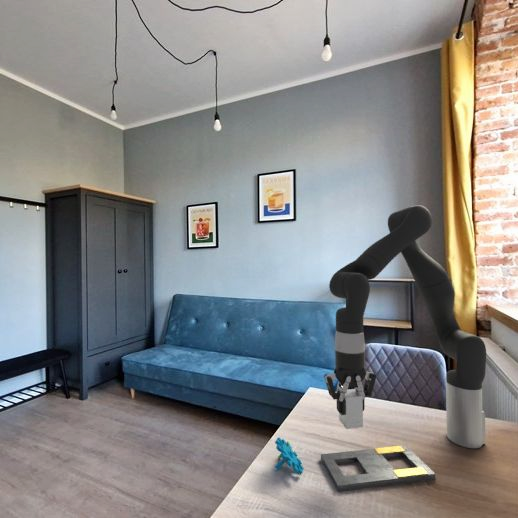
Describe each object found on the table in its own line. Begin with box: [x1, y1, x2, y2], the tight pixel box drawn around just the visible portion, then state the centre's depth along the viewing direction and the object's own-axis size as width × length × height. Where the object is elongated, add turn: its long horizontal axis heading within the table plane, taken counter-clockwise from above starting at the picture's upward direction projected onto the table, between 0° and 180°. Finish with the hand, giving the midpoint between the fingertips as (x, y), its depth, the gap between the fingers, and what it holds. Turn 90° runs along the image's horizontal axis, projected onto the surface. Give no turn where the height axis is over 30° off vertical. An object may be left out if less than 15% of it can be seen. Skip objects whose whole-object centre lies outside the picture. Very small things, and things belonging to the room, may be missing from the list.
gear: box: [274, 436, 305, 475], centre depth 82 cm, size 11×6×10 cm
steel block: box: [338, 388, 364, 430], centre depth 81 cm, size 4×4×8 cm
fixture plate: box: [320, 444, 436, 493], centre depth 82 cm, size 26×12×2 cm, turn 99°
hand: (350, 412), depth 81 cm, fingers closed on steel block, 4 cm apart
